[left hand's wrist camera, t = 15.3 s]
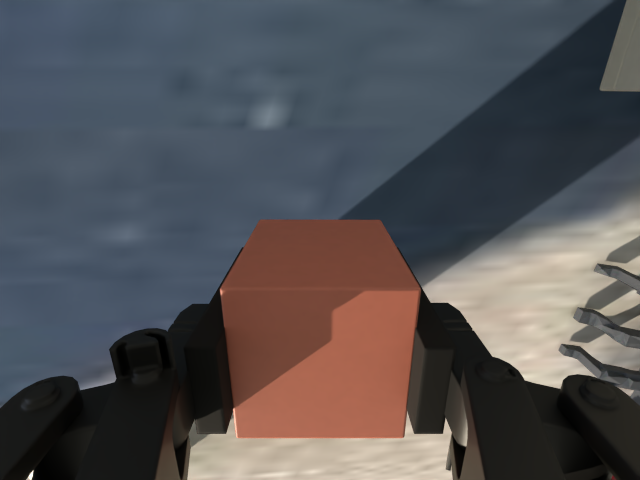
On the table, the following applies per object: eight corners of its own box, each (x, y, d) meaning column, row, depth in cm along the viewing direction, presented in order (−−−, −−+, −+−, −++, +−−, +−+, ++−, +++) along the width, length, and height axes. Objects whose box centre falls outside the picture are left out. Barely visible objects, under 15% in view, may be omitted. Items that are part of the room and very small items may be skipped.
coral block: (265, 323, 16) (235, 439, 10) (258, 219, 14) (218, 288, 8) (374, 323, 16) (405, 439, 10) (381, 219, 14) (422, 288, 8)
